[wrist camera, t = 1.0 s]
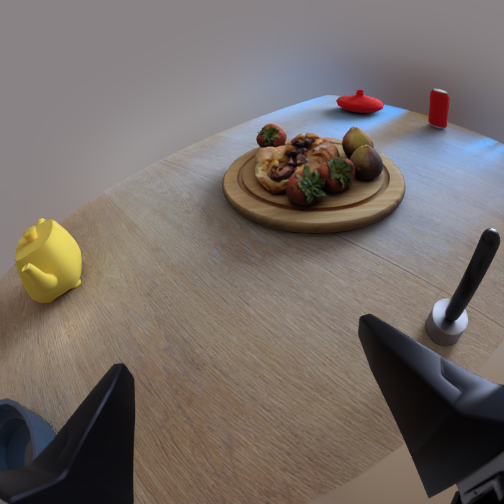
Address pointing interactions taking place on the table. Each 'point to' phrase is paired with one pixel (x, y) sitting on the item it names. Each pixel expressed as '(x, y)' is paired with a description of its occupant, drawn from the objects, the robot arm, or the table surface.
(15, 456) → the bowl
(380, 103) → the red vase
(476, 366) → the table surface
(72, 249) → the teapot
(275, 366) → the table surface
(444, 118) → the beverage can
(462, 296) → the coffee tamper
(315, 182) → the wooden plate
